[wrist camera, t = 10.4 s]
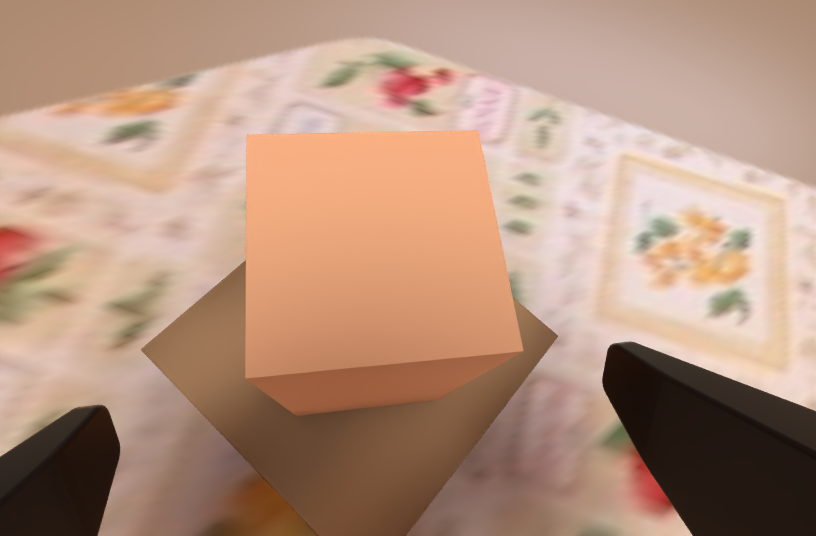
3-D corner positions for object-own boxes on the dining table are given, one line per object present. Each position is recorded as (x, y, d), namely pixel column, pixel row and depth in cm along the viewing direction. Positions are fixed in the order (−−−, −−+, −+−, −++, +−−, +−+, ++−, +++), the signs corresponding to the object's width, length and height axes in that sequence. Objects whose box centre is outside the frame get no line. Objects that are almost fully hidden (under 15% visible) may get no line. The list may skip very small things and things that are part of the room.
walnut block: (523, 355, 22) (558, 336, 18) (363, 558, 18) (366, 586, 15) (356, 209, 24) (357, 165, 20) (179, 367, 20) (140, 349, 16)
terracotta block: (436, 400, 17) (523, 351, 9) (296, 416, 16) (245, 378, 8) (419, 272, 19) (477, 130, 10) (292, 281, 18) (246, 134, 10)
